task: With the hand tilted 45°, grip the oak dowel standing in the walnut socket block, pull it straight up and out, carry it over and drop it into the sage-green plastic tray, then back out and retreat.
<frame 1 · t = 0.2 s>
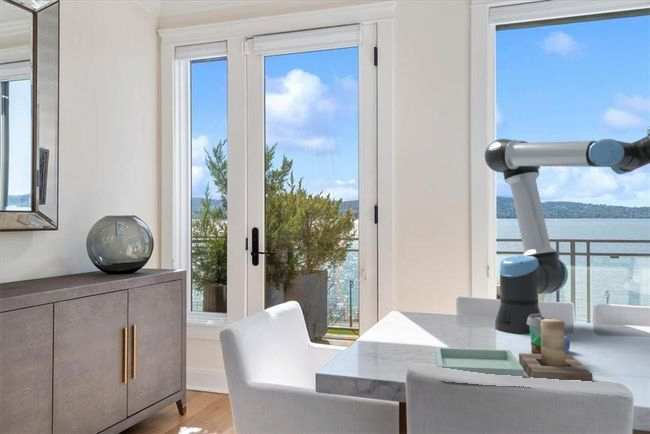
decorative dice: (559, 352, 143), on the table
dowel block: (553, 373, 121), on the table
tray: (476, 370, 124), on the table
dowel: (552, 347, 121), in the dowel block
food container: (540, 356, 138), on the table
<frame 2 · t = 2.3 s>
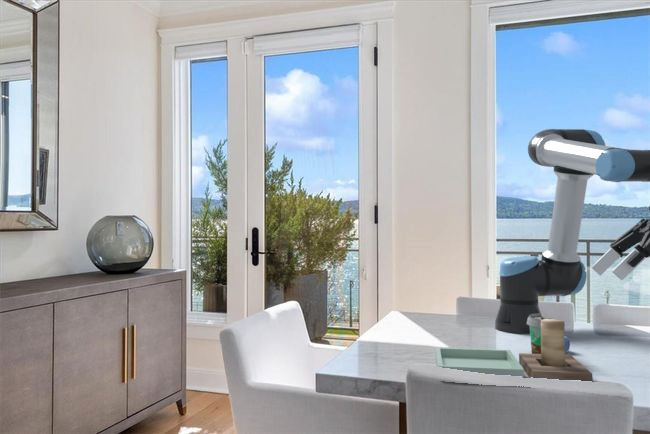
hand: (605, 273, 120), 23 cm above the table, tool tilted 45°, fingers open, 13 cm apart
nothing on the table moved.
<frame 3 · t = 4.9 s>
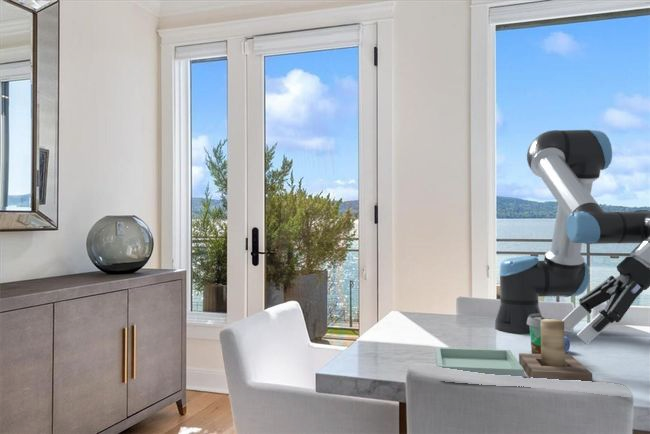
hand: (572, 333, 120), 10 cm above the table, tool tilted 45°, fingers open, 13 cm apart
nothing on the table moved.
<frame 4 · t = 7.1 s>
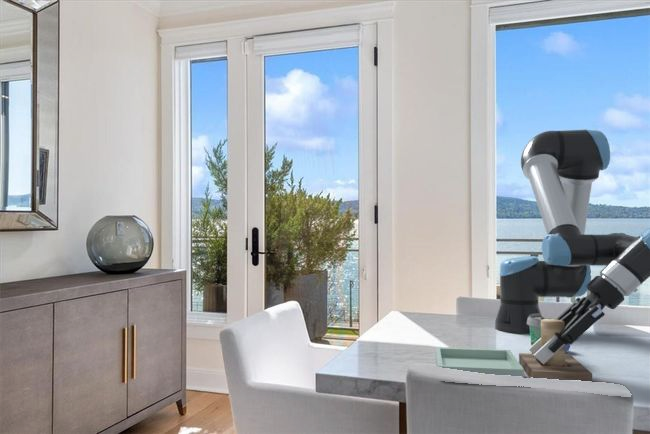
hand: (535, 356, 122), 4 cm above the table, tool tilted 45°, fingers closed on dowel, 5 cm apart
dowel: (552, 347, 121), in the dowel block, touching gripper
everything else where it was.
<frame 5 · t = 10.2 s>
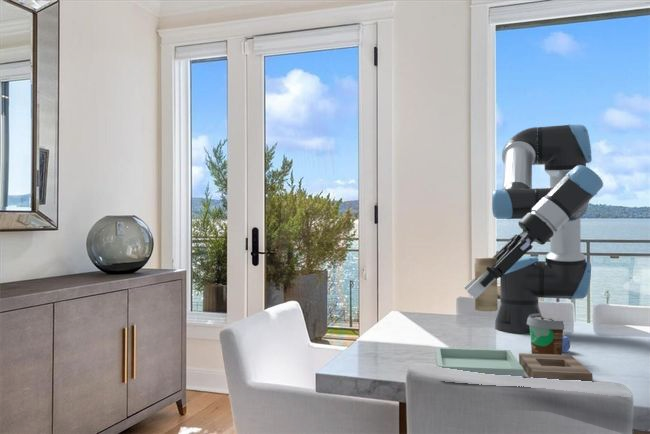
hand: (469, 293, 124), 18 cm above the table, tool tilted 45°, fingers closed on dowel, 5 cm apart
dowel: (485, 283, 123), point 20 cm above the table, touching gripper
everything else where it was.
when the fingers open (6 cm above the table, at t = 13.4 s): dowel drops 1 cm, resting on tray.
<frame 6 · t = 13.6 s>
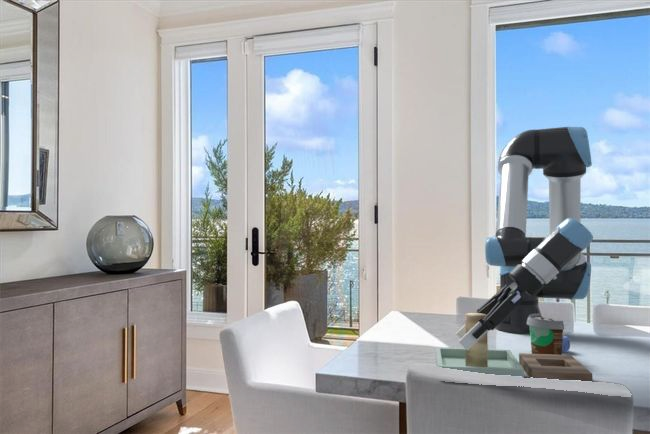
hand: (461, 341, 125), 7 cm above the table, tool tilted 45°, fingers open, 8 cm apart
dowel: (476, 340, 124), in the tray, point 7 cm above the table
everything else where it was.
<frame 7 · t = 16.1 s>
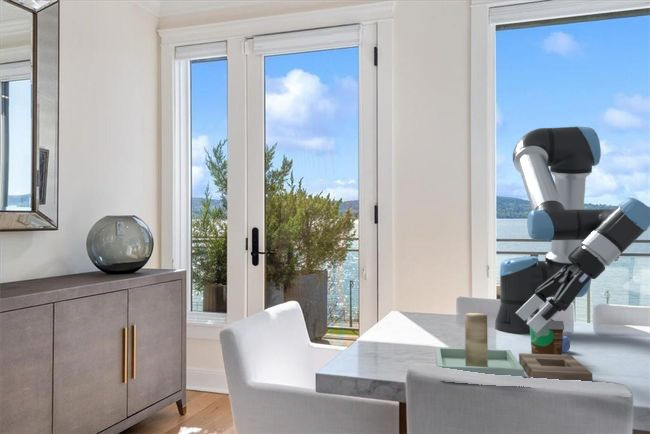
hand: (525, 322, 122), 12 cm above the table, tool tilted 45°, fingers open, 13 cm apart
nothing on the table moved.
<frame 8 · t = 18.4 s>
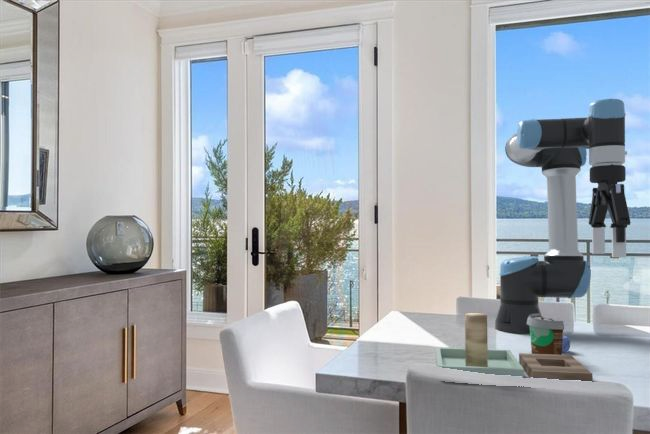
hand: (608, 255, 125), 27 cm above the table, tool pointing down, fingers open, 13 cm apart
nothing on the table moved.
at the end: dowel inside the target area on the tray (0.1 cm from its centre), point 7.0 cm above the tray's base; the gripper is holding nothing; dowel moved 17.0 cm from its start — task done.
